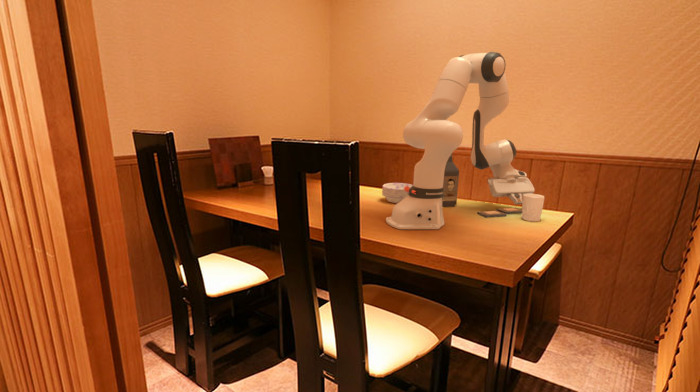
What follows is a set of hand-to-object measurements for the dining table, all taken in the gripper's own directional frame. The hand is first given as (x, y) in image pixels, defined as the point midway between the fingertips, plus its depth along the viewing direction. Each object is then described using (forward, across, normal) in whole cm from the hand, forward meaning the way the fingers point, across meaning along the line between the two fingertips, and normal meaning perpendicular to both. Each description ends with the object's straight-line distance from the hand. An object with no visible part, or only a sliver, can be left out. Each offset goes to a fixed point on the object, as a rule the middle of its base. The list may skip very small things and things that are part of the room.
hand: (518, 203), depth 157 cm
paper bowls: (-20, -41, +27) cm, 53 cm away
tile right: (0, 0, +7) cm, 7 cm away
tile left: (+2, -12, +4) cm, 13 cm away
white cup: (+9, 0, -2) cm, 9 cm away
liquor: (-12, -22, +20) cm, 32 cm away
